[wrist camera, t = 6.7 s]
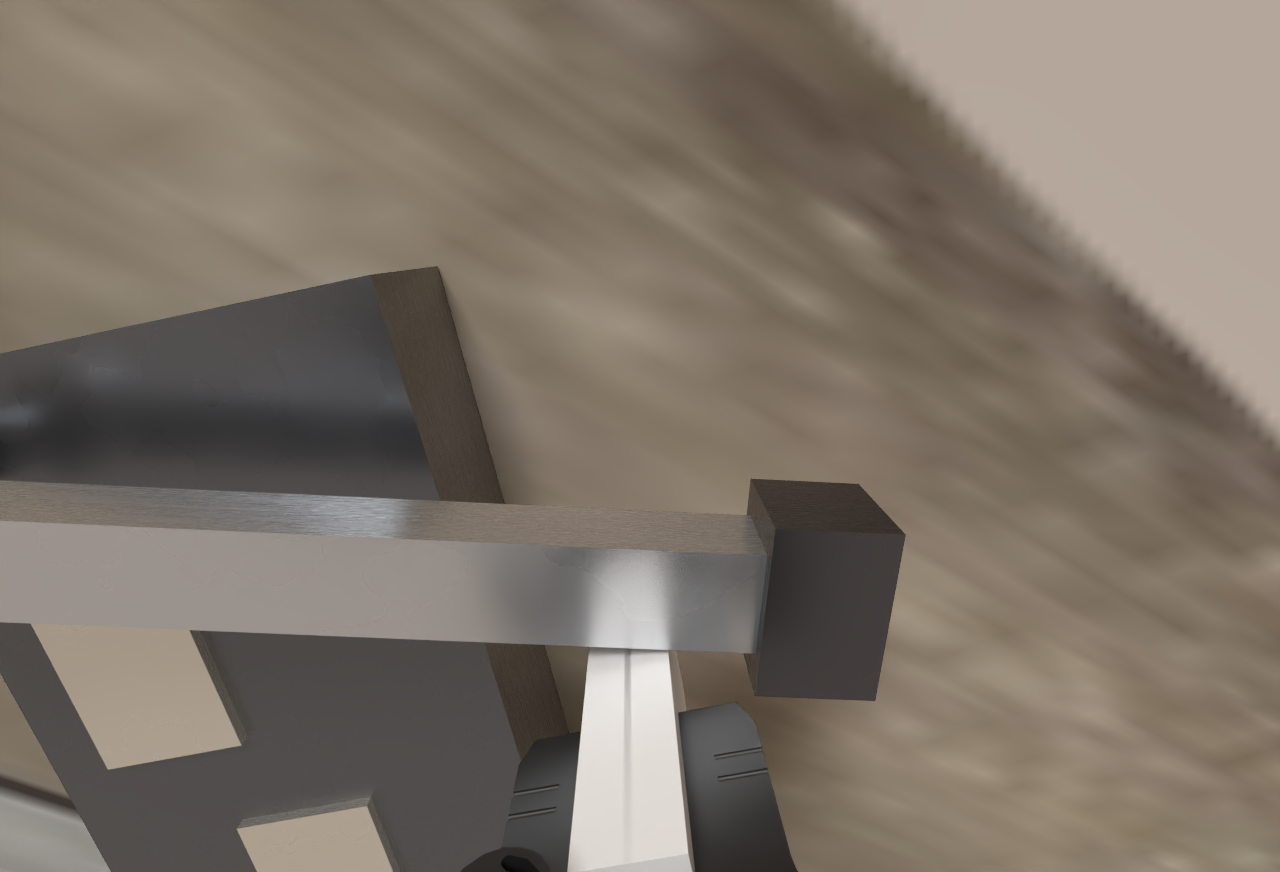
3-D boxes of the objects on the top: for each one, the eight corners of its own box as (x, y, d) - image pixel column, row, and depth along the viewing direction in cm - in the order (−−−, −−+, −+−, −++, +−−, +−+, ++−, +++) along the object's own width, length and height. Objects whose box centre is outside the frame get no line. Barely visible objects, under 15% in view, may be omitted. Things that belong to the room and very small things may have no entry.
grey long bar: (-263, 579, 13) (-446, 648, 10) (-321, 426, 12) (-530, 468, 10) (835, 626, 13) (875, 700, 11) (858, 483, 12) (905, 534, 10)
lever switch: (38, 350, 19) (-348, 422, 12) (437, 266, 19) (304, 283, 11) (301, 918, 25) (161, 1205, 18) (606, 867, 25) (595, 1141, 17)
